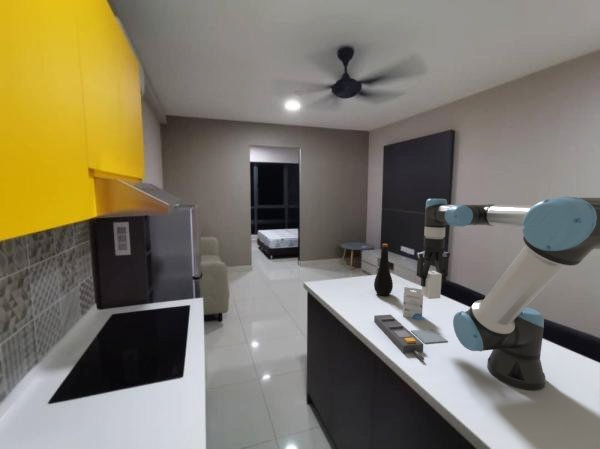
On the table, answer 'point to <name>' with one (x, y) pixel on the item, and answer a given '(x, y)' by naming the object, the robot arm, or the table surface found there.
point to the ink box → (413, 303)
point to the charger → (433, 285)
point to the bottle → (383, 275)
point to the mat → (429, 336)
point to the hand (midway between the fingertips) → (431, 293)
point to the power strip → (399, 334)
